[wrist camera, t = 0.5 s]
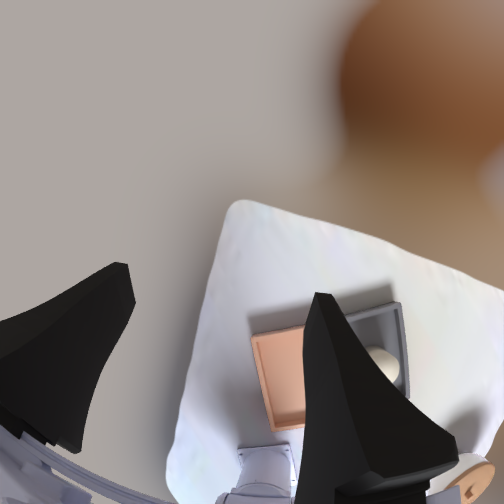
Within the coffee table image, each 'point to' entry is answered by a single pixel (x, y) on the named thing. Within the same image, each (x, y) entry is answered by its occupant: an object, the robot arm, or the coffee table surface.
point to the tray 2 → (385, 336)
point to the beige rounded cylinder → (384, 361)
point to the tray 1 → (281, 376)
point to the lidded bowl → (465, 477)
